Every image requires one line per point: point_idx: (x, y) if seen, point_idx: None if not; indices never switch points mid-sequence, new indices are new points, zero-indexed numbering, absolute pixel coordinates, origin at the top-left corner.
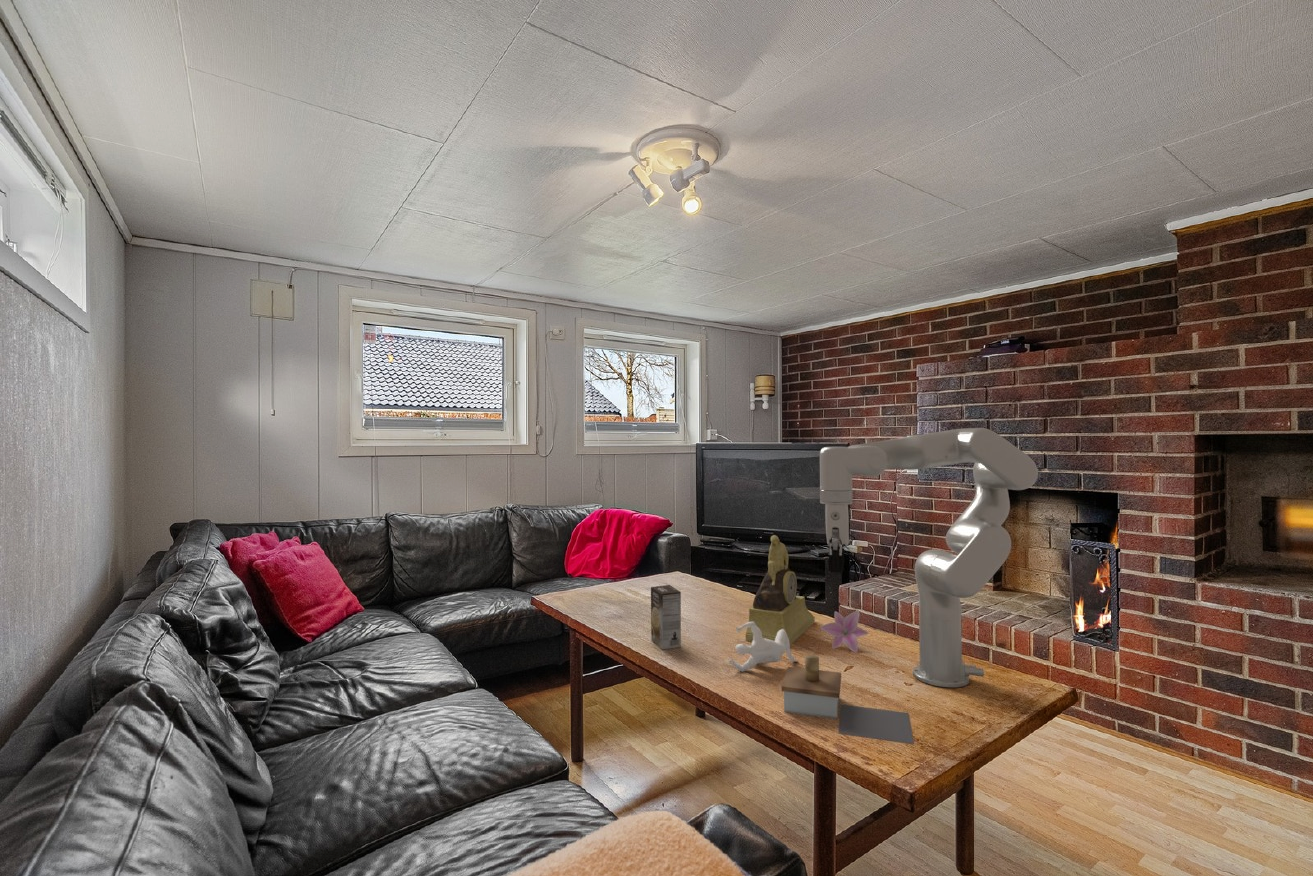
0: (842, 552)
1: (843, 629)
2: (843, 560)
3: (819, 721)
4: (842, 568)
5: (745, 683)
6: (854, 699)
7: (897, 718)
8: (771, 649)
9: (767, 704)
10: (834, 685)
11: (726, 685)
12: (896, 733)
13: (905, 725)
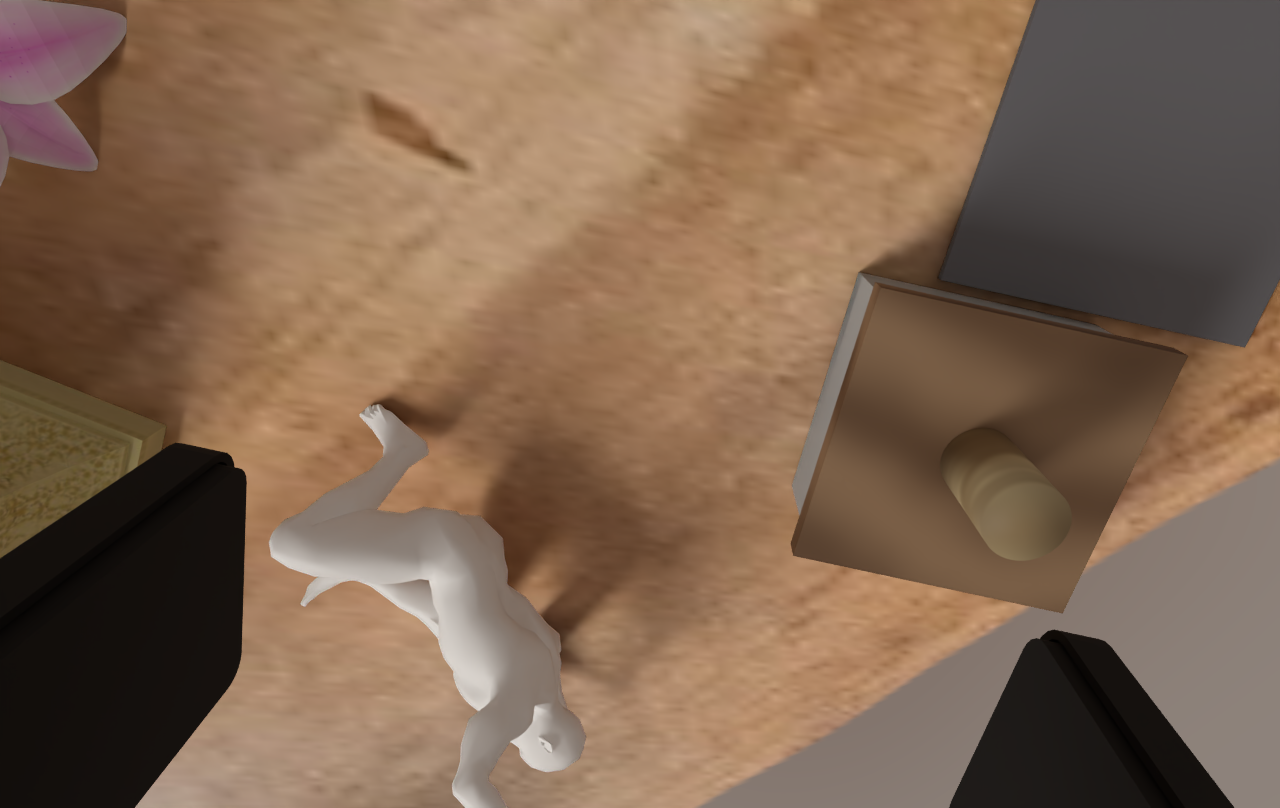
0: (42, 648)
1: None
2: (194, 501)
3: None
4: (1133, 695)
5: (688, 649)
6: (854, 190)
7: (1128, 13)
8: (498, 595)
9: (909, 584)
10: (1076, 361)
11: (716, 717)
12: None
13: None
